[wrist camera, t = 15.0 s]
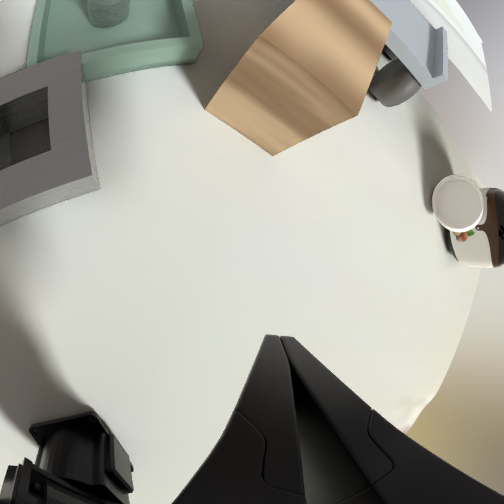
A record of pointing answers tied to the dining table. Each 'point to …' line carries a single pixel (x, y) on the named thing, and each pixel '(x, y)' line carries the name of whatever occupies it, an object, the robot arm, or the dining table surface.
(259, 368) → the robot arm
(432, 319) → the dining table surface
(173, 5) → the tray
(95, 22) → the pin
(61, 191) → the holder
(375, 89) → the trolley
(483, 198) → the spread jar
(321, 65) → the block
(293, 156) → the dining table surface
